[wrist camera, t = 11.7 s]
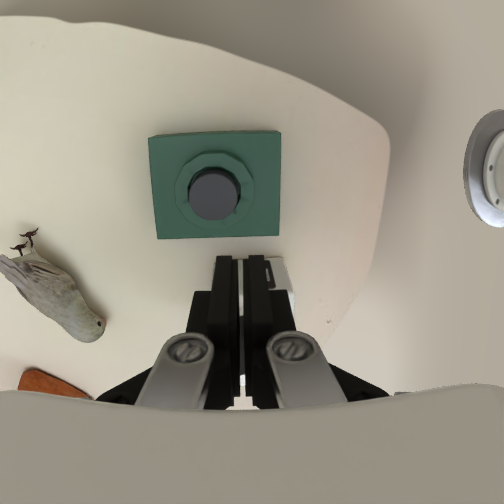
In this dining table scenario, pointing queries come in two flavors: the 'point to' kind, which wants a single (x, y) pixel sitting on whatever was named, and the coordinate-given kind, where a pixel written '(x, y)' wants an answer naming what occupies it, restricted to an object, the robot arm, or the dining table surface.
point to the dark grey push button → (213, 195)
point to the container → (276, 281)
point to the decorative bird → (52, 293)
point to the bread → (47, 385)
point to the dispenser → (221, 158)
